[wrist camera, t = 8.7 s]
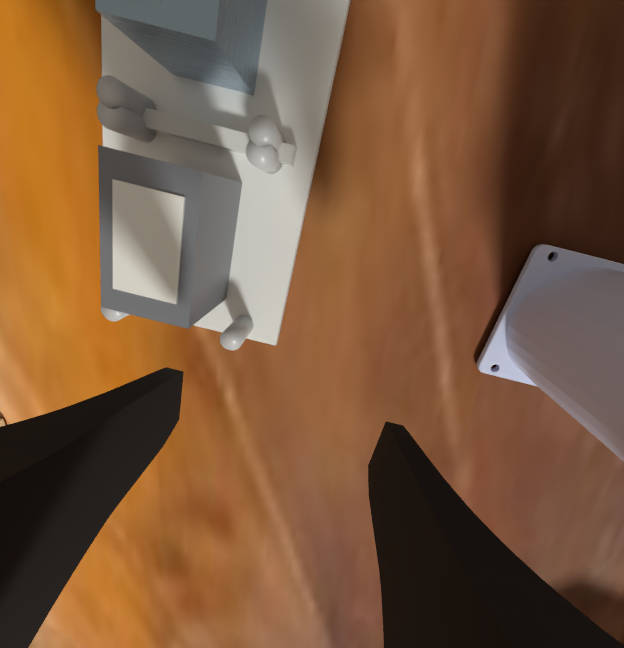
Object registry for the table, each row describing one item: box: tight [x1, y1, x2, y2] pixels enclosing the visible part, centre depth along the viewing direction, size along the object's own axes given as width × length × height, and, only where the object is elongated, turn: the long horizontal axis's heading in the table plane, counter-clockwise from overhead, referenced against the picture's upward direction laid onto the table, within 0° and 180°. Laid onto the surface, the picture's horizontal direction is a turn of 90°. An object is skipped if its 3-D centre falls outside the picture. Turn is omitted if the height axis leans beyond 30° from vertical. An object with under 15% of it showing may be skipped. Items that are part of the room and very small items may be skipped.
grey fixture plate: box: [97, 0, 351, 350], centre depth 13 cm, size 11×21×6 cm, turn 167°
